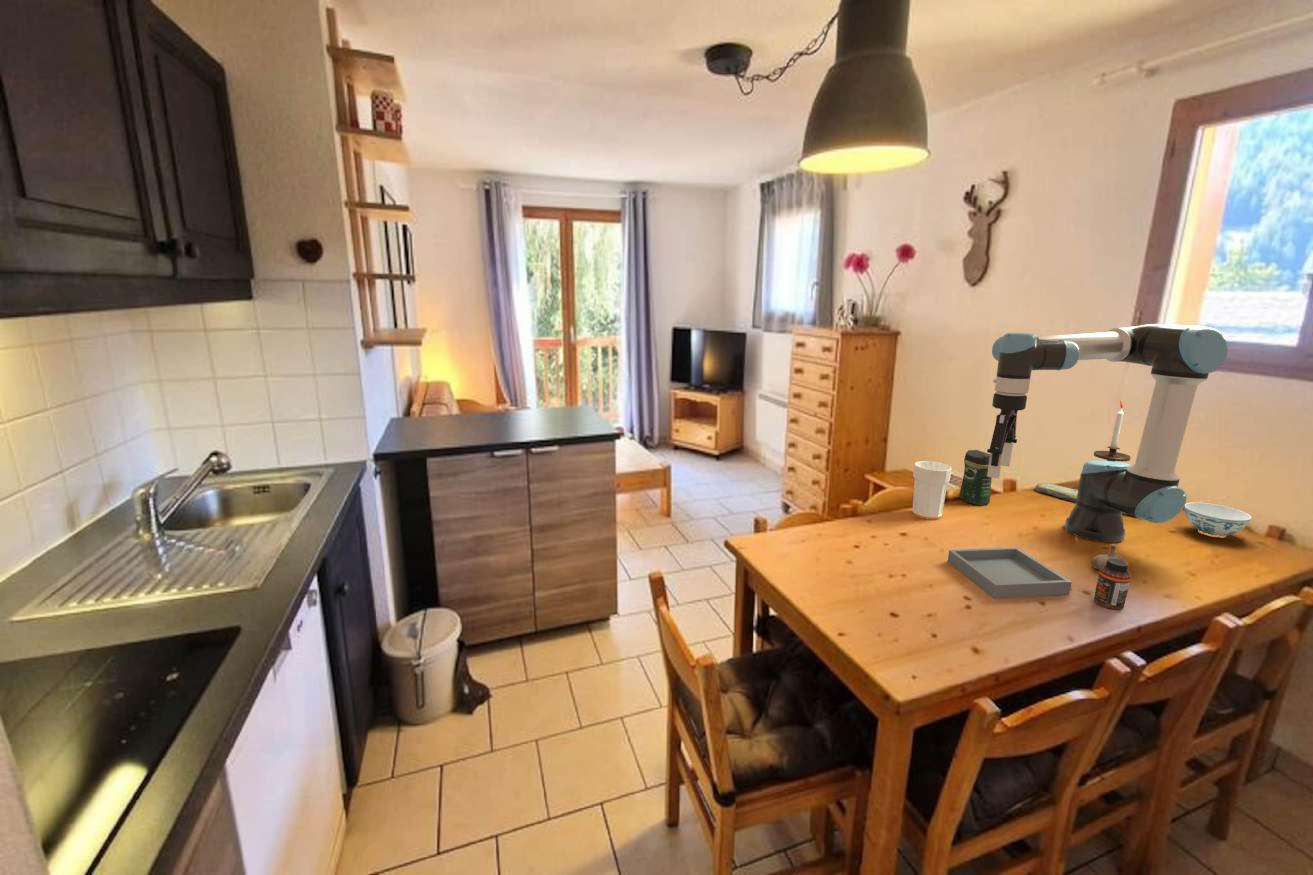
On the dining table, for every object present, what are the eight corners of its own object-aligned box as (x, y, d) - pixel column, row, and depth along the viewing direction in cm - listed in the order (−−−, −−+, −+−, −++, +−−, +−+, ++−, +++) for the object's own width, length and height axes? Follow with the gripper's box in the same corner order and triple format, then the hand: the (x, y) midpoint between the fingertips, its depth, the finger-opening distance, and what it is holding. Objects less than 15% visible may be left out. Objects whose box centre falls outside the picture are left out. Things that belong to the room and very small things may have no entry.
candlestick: (1079, 487, 223) (1097, 398, 215) (1102, 485, 226) (1119, 396, 217) (1107, 497, 213) (1126, 403, 204) (1130, 494, 216) (1150, 402, 207)
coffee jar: (993, 504, 206) (1001, 454, 201) (975, 506, 203) (983, 456, 199) (972, 495, 215) (979, 447, 210) (954, 497, 212) (961, 448, 208)
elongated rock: (1041, 490, 225) (1029, 497, 219) (1042, 477, 224) (1030, 483, 218) (1155, 513, 196) (1145, 521, 191) (1157, 499, 195) (1146, 506, 190)
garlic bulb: (1126, 580, 152) (1132, 552, 150) (1091, 573, 156) (1097, 546, 154) (1121, 568, 158) (1127, 541, 156) (1088, 562, 162) (1094, 536, 160)
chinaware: (1259, 544, 173) (1266, 520, 172) (1208, 544, 174) (1214, 520, 172) (1213, 524, 188) (1219, 502, 186) (1166, 524, 188) (1172, 502, 186)
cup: (951, 521, 191) (958, 470, 187) (917, 521, 191) (923, 470, 187) (935, 508, 202) (942, 460, 198) (903, 508, 202) (908, 460, 198)
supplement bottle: (1087, 598, 143) (1095, 556, 140) (1109, 597, 144) (1118, 555, 141) (1107, 611, 137) (1116, 567, 135) (1130, 609, 138) (1140, 566, 135)
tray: (1014, 558, 164) (1016, 547, 163) (1069, 594, 145) (1071, 581, 144) (947, 561, 162) (949, 549, 162) (993, 597, 143) (995, 585, 142)
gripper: (1004, 386, 162) (993, 458, 168) (983, 398, 144) (971, 479, 149) (1035, 388, 158) (1023, 463, 163) (1018, 401, 139) (1004, 485, 144)
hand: (998, 471), depth 156 cm, fingers open, 13 cm apart
